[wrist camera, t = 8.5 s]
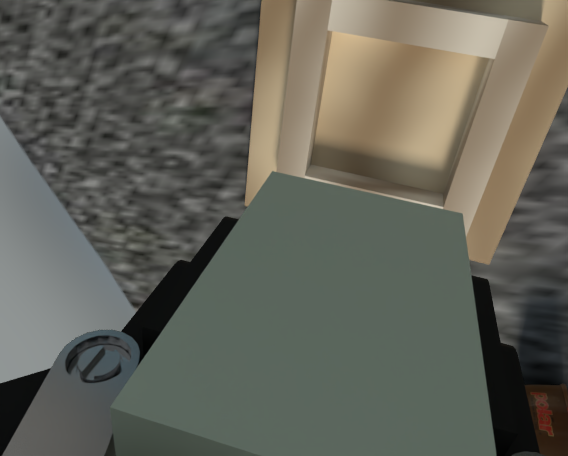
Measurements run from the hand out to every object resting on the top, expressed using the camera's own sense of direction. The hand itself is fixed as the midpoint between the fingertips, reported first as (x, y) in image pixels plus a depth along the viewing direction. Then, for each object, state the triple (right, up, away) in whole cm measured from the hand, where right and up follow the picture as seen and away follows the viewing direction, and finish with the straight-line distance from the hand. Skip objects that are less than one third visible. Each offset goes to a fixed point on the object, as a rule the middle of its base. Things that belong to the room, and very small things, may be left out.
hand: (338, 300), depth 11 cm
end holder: (+4, +8, +13) cm, 15 cm away
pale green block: (0, +1, +1) cm, 1 cm away
